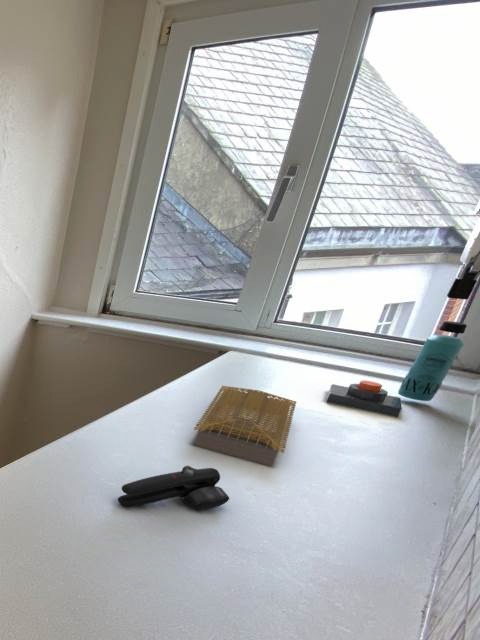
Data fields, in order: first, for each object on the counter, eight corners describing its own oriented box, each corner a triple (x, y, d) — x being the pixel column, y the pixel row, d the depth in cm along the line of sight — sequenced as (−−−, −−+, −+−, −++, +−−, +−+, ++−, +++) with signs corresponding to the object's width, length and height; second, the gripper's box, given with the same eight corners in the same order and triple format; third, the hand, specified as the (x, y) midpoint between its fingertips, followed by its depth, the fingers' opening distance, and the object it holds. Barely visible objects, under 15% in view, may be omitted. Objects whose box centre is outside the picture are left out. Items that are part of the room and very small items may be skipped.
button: (378, 390, 132) (382, 383, 131) (378, 394, 129) (382, 387, 128) (357, 386, 134) (360, 379, 133) (356, 390, 131) (360, 383, 130)
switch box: (396, 406, 133) (404, 390, 131) (397, 417, 126) (406, 401, 124) (328, 392, 140) (335, 377, 138) (326, 401, 133) (333, 386, 132)
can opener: (198, 488, 92) (209, 458, 90) (231, 510, 86) (244, 479, 83) (103, 493, 89) (112, 463, 87) (130, 517, 83) (140, 485, 81)
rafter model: (276, 469, 99) (290, 439, 97) (187, 444, 108) (198, 416, 105) (290, 416, 124) (301, 390, 121) (217, 399, 132) (226, 375, 129)
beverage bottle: (389, 395, 140) (430, 317, 131) (423, 400, 137) (467, 321, 128) (399, 403, 134) (443, 322, 125) (434, 409, 132) (481, 327, 123)
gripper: (538, 208, 105) (486, 305, 113) (523, 207, 115) (476, 296, 123) (481, 207, 109) (435, 300, 117) (472, 206, 119) (430, 291, 128)
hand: (456, 298), depth 120 cm, fingers closed
